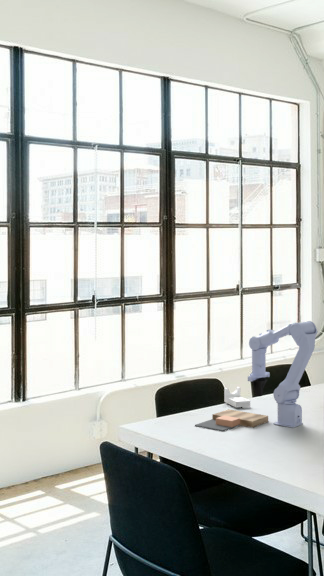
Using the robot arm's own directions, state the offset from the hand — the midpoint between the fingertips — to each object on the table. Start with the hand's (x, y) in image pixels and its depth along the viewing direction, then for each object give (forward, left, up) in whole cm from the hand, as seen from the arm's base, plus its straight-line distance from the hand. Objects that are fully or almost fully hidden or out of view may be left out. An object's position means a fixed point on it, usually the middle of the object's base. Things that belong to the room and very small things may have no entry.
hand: (258, 395), depth 289 cm
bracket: (+21, -14, -10) cm, 27 cm away
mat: (+6, +22, -9) cm, 25 cm away
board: (+3, +10, -9) cm, 14 cm away
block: (+3, +19, -9) cm, 21 cm away
